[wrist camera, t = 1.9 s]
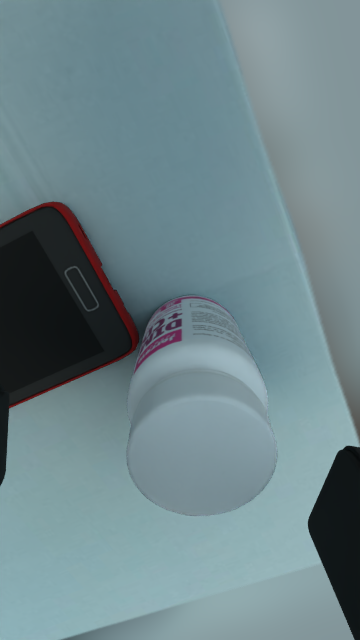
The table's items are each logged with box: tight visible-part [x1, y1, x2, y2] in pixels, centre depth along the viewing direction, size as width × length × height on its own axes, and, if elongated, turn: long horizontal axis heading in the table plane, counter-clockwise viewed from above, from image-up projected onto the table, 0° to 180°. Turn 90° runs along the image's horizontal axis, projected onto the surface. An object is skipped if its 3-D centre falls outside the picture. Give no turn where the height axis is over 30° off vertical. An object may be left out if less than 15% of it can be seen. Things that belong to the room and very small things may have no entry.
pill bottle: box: [127, 295, 277, 516], centre depth 12 cm, size 5×5×8 cm
